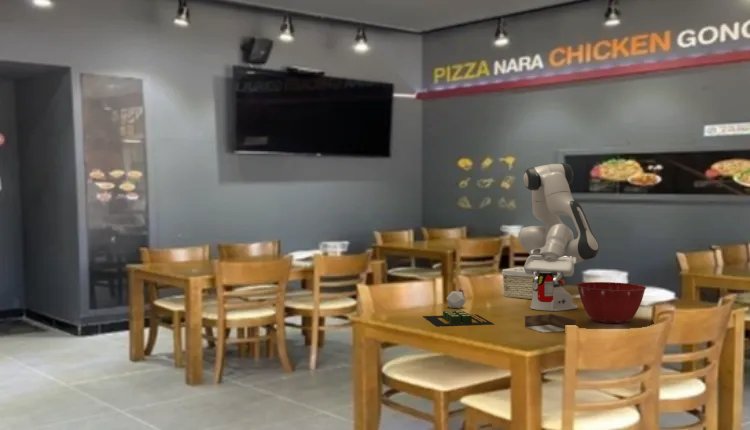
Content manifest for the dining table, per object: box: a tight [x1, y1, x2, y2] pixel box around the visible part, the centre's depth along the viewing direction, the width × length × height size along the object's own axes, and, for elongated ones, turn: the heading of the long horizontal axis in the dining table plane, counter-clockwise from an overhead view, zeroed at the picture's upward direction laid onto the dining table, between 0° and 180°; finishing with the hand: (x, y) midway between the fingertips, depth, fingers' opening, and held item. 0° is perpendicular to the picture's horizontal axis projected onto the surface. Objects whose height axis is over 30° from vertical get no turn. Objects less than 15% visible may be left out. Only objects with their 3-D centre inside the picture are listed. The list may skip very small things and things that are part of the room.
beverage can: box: [538, 271, 554, 302], centre depth 319 cm, size 6×6×12 cm
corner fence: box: [524, 313, 577, 334], centre depth 320 cm, size 14×16×4 cm
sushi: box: [422, 310, 495, 328], centre depth 341 cm, size 25×25×4 cm
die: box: [446, 290, 466, 309], centre depth 376 cm, size 8×9×10 cm
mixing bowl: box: [576, 281, 647, 324], centre depth 338 cm, size 28×28×16 cm
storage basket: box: [501, 266, 534, 300], centre depth 410 cm, size 24×16×15 cm
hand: (545, 282), depth 319 cm, fingers closed on beverage can, 6 cm apart
